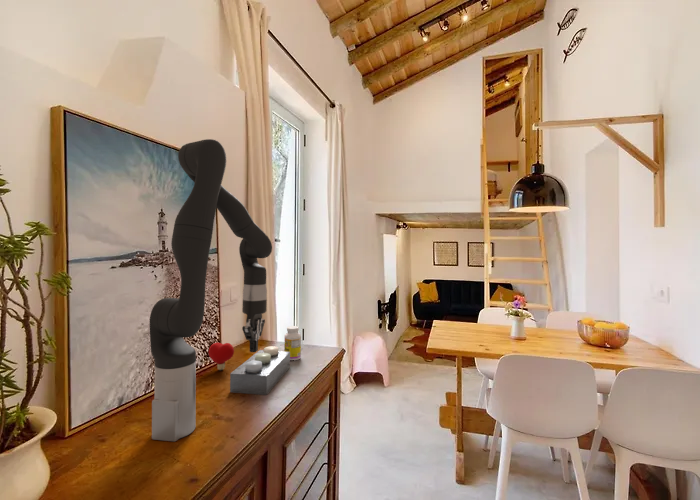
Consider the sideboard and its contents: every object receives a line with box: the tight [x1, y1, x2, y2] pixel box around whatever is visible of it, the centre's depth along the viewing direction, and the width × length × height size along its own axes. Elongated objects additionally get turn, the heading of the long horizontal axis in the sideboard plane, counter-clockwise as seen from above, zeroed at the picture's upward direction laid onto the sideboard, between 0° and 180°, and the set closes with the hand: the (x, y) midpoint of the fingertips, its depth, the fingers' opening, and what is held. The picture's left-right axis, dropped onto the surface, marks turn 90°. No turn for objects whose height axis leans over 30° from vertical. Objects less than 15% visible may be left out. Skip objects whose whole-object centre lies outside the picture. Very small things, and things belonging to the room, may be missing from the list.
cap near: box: [245, 361, 262, 373], centre depth 112 cm, size 5×5×5 cm
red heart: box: [208, 342, 235, 371], centre depth 128 cm, size 9×7×10 cm
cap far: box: [263, 345, 279, 357], centre depth 128 cm, size 5×5×5 cm
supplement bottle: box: [284, 325, 302, 361], centre depth 142 cm, size 7×7×13 cm
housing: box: [229, 349, 291, 396], centre depth 120 cm, size 24×12×6 cm, turn 173°
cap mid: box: [255, 353, 271, 364], centre depth 120 cm, size 5×5×5 cm
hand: (253, 351), depth 112 cm, fingers closed
